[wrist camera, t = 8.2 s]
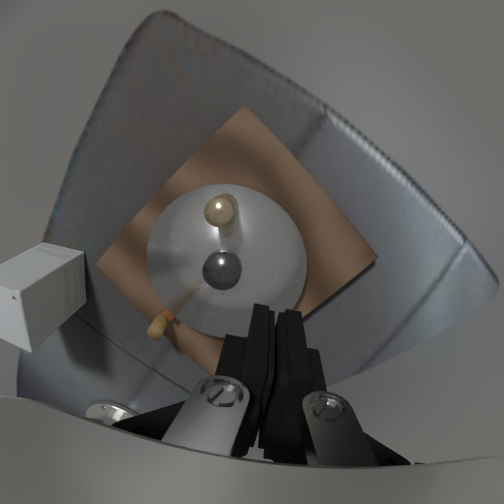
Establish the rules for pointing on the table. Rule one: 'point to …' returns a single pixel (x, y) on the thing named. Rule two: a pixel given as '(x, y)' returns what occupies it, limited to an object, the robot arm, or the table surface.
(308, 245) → the base board
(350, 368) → the table surface
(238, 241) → the flange plate
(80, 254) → the supplement box
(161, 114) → the table surface
